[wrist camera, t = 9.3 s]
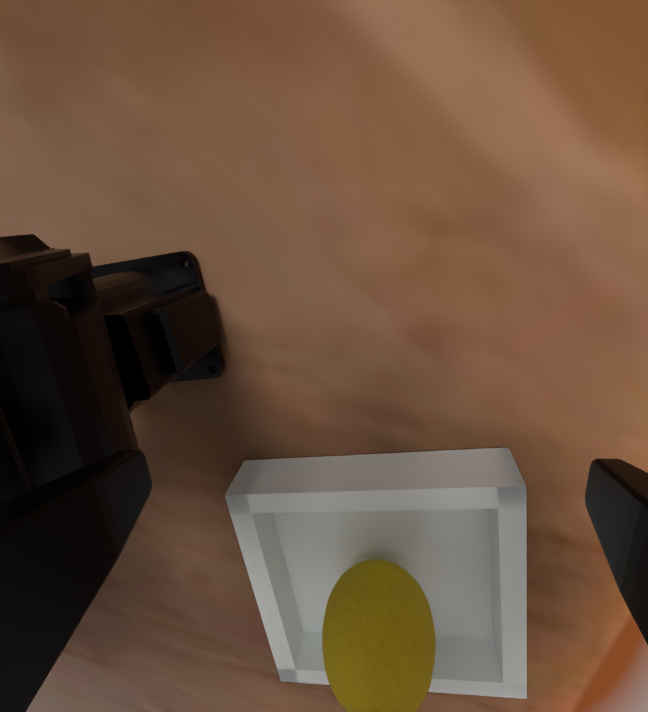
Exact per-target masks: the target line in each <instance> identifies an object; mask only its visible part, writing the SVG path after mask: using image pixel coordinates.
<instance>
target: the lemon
mask: <svg viewBox="0 0 648 712" xmlns="http://www.w3.org/2000/svg"><path fill="white" fill-rule="evenodd" d="M322 650H323V659H324V665H325V671H326V675H327V679H328V682H329V685H330V687H331V689H332V691H333V693H334V694H335V696H336V698H337V700H338V701H339V702H340V703H341V705H342V706H343V707H344V708H345V709H346V710H347V711H348V712H416V710H417V709H418V708H419V707H420V705H421V704H422V702H423V701H424V699H425V697H426V695H427V693H428V690H429V688H430V684H431V680H432V675H433V668H434V662H435V652H436V636H435V628H434V623H433V618H432V613H431V609H430V606H429V603H428V600H427V598H426V596H425V594H424V592H423V590H422V589H421V587H420V585H419V583H418V582H417V581H416V579H415V578H414V577H412V576H411V575H410V574H409V573H408V572H407V571H406V570H405V569H403V568H402V567H400V566H399V565H397V564H395V563H393V562H390V561H387V560H381V559H370V560H365V561H362V562H359V563H357V564H355V565H353V566H352V567H350V568H349V569H348V570H347V571H345V572H344V573H343V574H342V575H341V577H340V578H339V580H338V581H337V583H336V584H335V586H334V587H333V589H332V591H331V593H330V596H329V599H328V602H327V605H326V610H325V615H324V621H323V628H322Z"/></svg>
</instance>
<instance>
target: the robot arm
mask: <svg viewBox="0 0 648 712" xmlns="http://www.w3.org/2000/svg"><path fill="white" fill-rule="evenodd" d="M183 257H184V258H185V259H186V260H187V261H188V265H187V267H186V266H184V265H183V263H182V258H183ZM219 341H220V335H219V332H218V328H217V324H216V320H215V317H214V313H213V309H212V305H211V302H210V298H209V294H208V293H207V292H206V291H205V290H204V287H203V284H202V280H201V276H200V272H199V269H198V265H197V261H196V259H195V256H194V255H193V254H192V253H191V252H189V251H180V252H175V253H169V254H163V255H157V256H151V257H145V258H140V259H134V260H128V261H122V262H116V263H111V264H105V265H99V266H93V267H92V263H91V259H90V255H89V253H72V254H71V251H70V249H54V248H53V249H51V248H50V247H48V246H47V245H46V244H45V243H44V242H42V241H41V240H40V239H39V238H38V237H36V236H35V235H34V234H30V235H16V236H5V237H0V712H26V710H27V709H28V707H29V705H30V704H31V702H32V700H33V699H34V697H35V695H36V694H37V692H38V690H39V689H40V687H41V686H42V684H43V682H44V681H45V679H46V677H47V676H48V674H49V672H50V671H51V669H52V667H53V666H54V664H55V662H56V661H57V659H58V657H59V656H60V654H61V652H62V651H63V649H64V647H65V646H66V644H67V642H68V641H69V639H70V637H71V636H72V634H73V632H74V631H75V629H76V628H77V626H78V624H79V623H80V621H81V619H82V618H83V616H84V614H85V613H86V611H87V609H88V608H89V606H90V604H91V603H92V601H93V599H94V598H95V596H96V594H97V593H98V591H99V589H100V588H101V586H102V584H103V583H104V581H105V579H106V578H107V576H108V574H109V573H110V571H111V570H112V568H113V566H114V564H115V563H116V561H117V559H118V557H119V555H120V554H121V552H122V550H123V548H124V546H125V544H126V542H127V540H128V538H129V536H130V533H131V531H132V529H133V527H134V525H135V523H136V521H137V519H138V517H139V515H140V513H141V511H142V509H143V507H144V505H145V503H146V501H147V499H148V496H149V494H150V492H151V488H152V480H151V476H150V473H149V469H148V465H147V462H146V458H145V455H144V454H143V452H142V451H141V450H139V447H138V443H137V439H136V436H135V432H134V428H133V424H132V421H131V417H130V413H131V412H132V411H133V410H134V409H136V408H137V407H138V406H139V405H141V404H142V403H143V402H144V401H146V400H148V399H150V398H151V397H152V396H153V395H155V394H156V393H157V392H158V391H160V390H161V389H162V388H163V387H164V386H166V385H167V384H168V383H169V382H177V381H188V380H198V379H208V378H216V377H219V376H220V375H221V374H222V373H223V372H224V369H225V366H224V362H223V358H222V354H221V351H220V347H219ZM211 364H212V365H215V366H216V367H217V371H216V370H213V369H212V367H211ZM585 503H586V508H587V511H588V513H589V516H590V518H591V521H592V523H593V526H594V528H595V531H596V533H597V536H598V538H599V541H600V543H601V546H602V548H603V551H604V553H605V556H606V558H607V561H608V563H609V566H610V568H611V571H612V573H613V576H614V578H615V581H616V583H617V585H618V588H619V590H620V592H621V594H622V596H623V598H624V600H625V602H626V604H627V606H628V608H629V610H630V612H631V614H632V616H633V618H634V620H635V621H636V623H637V625H638V627H639V629H640V631H641V633H642V635H643V637H644V639H645V641H646V642H647V644H648V473H647V472H645V471H643V470H641V469H639V468H637V467H635V466H633V465H631V464H629V463H627V462H625V461H623V460H620V459H595V460H593V461H592V463H591V465H590V470H589V475H588V481H587V487H586V493H585Z"/></svg>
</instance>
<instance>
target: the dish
mask: <svg viewBox="0 0 648 712" xmlns="http://www.w3.org/2000/svg"><path fill="white" fill-rule="evenodd" d="M224 496H225V499H226V502H227V506H228V509H229V512H230V515H231V519H232V522H233V525H234V529H235V532H236V535H237V538H238V542H239V545H240V548H241V552H242V555H243V558H244V562H245V565H246V568H247V571H248V575H249V578H250V581H251V585H252V588H253V591H254V594H255V598H256V601H257V604H258V608H259V611H260V614H261V618H262V621H263V624H264V627H265V631H266V634H267V637H268V641H269V644H270V647H271V650H272V654H273V657H274V660H275V664H276V667H277V670H278V674H279V677H280V680H281V681H283V682H297V683H311V684H325V685H329V682H328V679H327V675H326V671H325V665H324V659H323V650H322V628H323V621H324V615H325V610H326V605H327V602H328V599H329V596H330V593H331V591H332V589H333V587H334V586H335V584H336V583H337V581H338V580H339V578H340V577H341V575H342V574H343V573H344V572H345V571H347V570H348V569H349V568H350V567H352V566H353V565H355V564H357V563H359V562H362V561H365V560H370V559H381V560H387V561H390V562H393V563H395V564H397V565H399V566H400V567H402V568H403V569H405V570H406V571H407V572H408V573H409V574H410V575H411V576H412V577H414V578H415V579H416V581H417V582H418V583H419V585H420V587H421V589H422V590H423V592H424V594H425V596H426V598H427V600H428V603H429V606H430V609H431V613H432V618H433V623H434V628H435V636H436V652H435V662H434V668H433V675H432V680H431V684H430V688H429V690H428V692H437V693H451V694H465V695H479V696H494V697H508V698H522V699H527V520H526V484H525V482H524V479H523V477H522V475H521V473H520V471H519V469H518V467H517V464H516V462H515V460H514V458H513V456H512V454H511V452H510V449H509V447H504V448H484V449H464V450H444V451H424V452H404V453H384V454H364V455H344V456H324V457H304V458H284V459H264V460H244V462H243V464H242V465H241V467H240V469H239V471H238V472H237V474H236V476H235V478H234V479H233V481H232V483H231V484H230V486H229V488H228V490H227V491H226V493H225V495H224Z"/></svg>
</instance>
